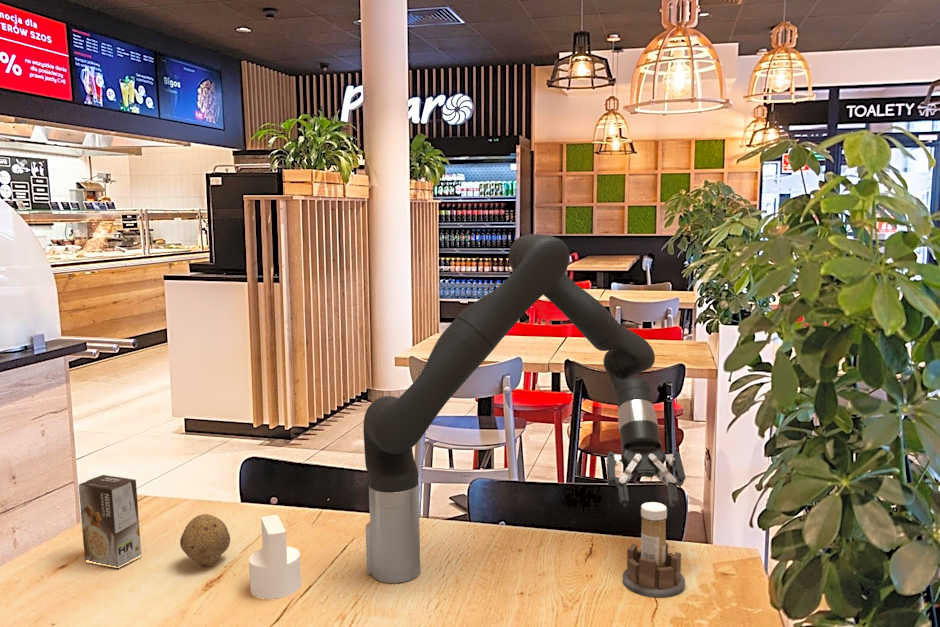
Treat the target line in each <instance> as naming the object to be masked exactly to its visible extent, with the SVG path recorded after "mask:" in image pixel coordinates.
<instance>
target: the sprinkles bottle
mask: <svg viewBox="0 0 940 627" xmlns="http://www.w3.org/2000/svg"><path fill="white" fill-rule="evenodd" d="M640 516H641V531H640V532H641V534H640V536H641V537H640V549H641V557H642V558H647V559H652V560H656V582H657V568H663V567H665V561H666V543H667V542H666V541H667V540H666V539H667V538H666V537H667V536H666V532H667V531H666V527H667V526H666V521H667V518H668V508H667V506H666V505H665V504H663V503H661V502H656V501H650V502H644V503H642V504H641V506H640Z"/></svg>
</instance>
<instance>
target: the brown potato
mask: <svg viewBox="0 0 940 627" xmlns="http://www.w3.org/2000/svg"><path fill="white" fill-rule="evenodd" d="M179 540H180V542H179V544H180V548H181V550H182V551H183V552H184V554H185V555H186V556H187V557H188V558H190V559H191V560H193V561H194V562H196V563H198V564H199V565H201V566H204V565H210V566H212V565H214V564H215V563H216V562H217V561H218V559H219V558H220V557H221V556H223V554H224V553H225V552H226V551H227V550H228V548H229V547H230V543H231V535H230V533H229V530H228V527H227V526H226V524H225V522H223V520H221V519H220V518H219V517H217V516H215V515H213V514H205V513H204V514H199V515H197V516H195V517H193V518H192V519H191V520H189V522H188V523H187V525H186V526H185V528H184V530H183V532H182V535H181V536H180V539H179ZM211 564H212V565H211Z"/></svg>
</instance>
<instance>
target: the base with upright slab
mask: <svg viewBox="0 0 940 627" xmlns="http://www.w3.org/2000/svg"><path fill="white" fill-rule="evenodd" d="M260 521H261V542H262V548H261V549H258V550H256V551H254V552H253V553H252V554H250V556H249V558H248V569H249V585H250V587H249V588H250V594H251V593H252V594H253V595H255V596H256V597H259V598H264V599H275V600H277V599H276V598H281V599H283V598H282V597H285V598H287V597H286V596H288V597H290V596H289V595H291V594H293V593H295V592H296V591H297V590H298V589H299V588H300V587H301V588H302V570H301V567H302V566H301V553H300V550H299V549H297V548H295V547H293V546H288V545H287V530H286V529H285V527H284V525H283V523H282V521H281V519H280V517H279V515H278V514H273V515H266V516H262V517H260ZM301 588H300V589H301ZM300 589H299V590H300ZM299 590H298V591H299ZM296 593H297V592H296ZM296 593H295V594H296ZM252 594H251V595H252ZM253 595H252V596H253ZM293 595H294V594H293ZM291 596H292V595H291ZM256 597H255V598H256ZM259 598H258V599H259ZM264 599H263V600H264Z"/></svg>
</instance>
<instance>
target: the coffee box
mask: <svg viewBox="0 0 940 627" xmlns="http://www.w3.org/2000/svg"><path fill="white" fill-rule="evenodd" d="M137 489H138V488H137V479H134V478H128V477H126V478H125V477H121V476H120V477H119V476H113V475H107V474H106V475H105V474H102V475H99V476H96V477H93V478H91V479H88V480H87V481H85V482H81V483H80V484H79V483H78V495H79V504H80V505H79V506H80V517H81V529H82V541H83V542H82V543H83V553H84V561H85V560H89V561H92V562H96V563H101V564H106V565H111V566H116V567H119V566H121V565H123V564H125V563H127V562H129V561H130V560H132V559H134V558H136V557H138V556H139V555H141V556H142V547H141V534H140V531H141V530H140V520H139V519H140V518H139V507H138V506H139V505H138V504H139V503H138V491H137Z"/></svg>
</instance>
